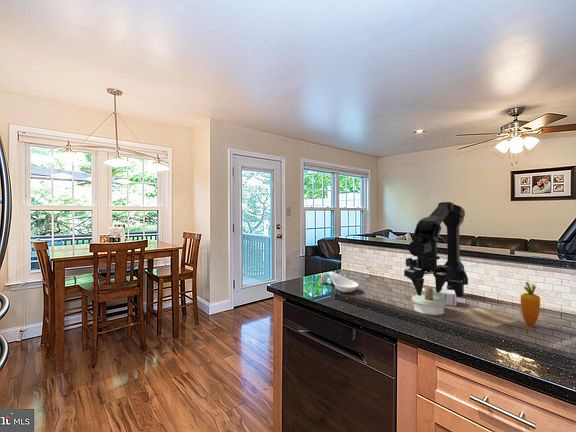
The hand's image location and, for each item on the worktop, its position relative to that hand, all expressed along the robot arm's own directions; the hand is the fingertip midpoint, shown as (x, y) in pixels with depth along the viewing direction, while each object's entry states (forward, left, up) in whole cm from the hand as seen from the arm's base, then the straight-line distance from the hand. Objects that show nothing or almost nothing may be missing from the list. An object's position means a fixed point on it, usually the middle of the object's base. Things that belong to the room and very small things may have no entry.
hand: (428, 294), depth 111 cm
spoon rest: (+14, -43, -8) cm, 46 cm away
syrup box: (-5, -11, -4) cm, 13 cm away
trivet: (-13, +13, -7) cm, 20 cm away
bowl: (0, 0, -7) cm, 7 cm away
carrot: (-18, +24, -7) cm, 31 cm away
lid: (0, 0, -3) cm, 3 cm away
